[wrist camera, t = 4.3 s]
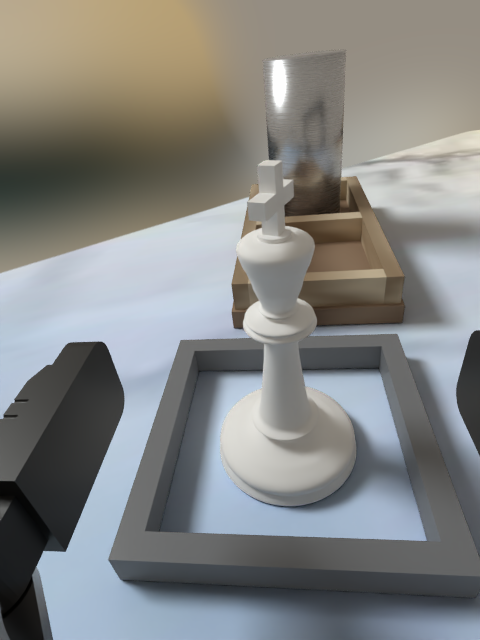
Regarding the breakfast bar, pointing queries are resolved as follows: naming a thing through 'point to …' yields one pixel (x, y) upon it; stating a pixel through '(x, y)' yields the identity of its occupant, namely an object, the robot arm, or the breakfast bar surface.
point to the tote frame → (288, 551)
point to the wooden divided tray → (339, 265)
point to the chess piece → (283, 369)
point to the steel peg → (307, 126)
